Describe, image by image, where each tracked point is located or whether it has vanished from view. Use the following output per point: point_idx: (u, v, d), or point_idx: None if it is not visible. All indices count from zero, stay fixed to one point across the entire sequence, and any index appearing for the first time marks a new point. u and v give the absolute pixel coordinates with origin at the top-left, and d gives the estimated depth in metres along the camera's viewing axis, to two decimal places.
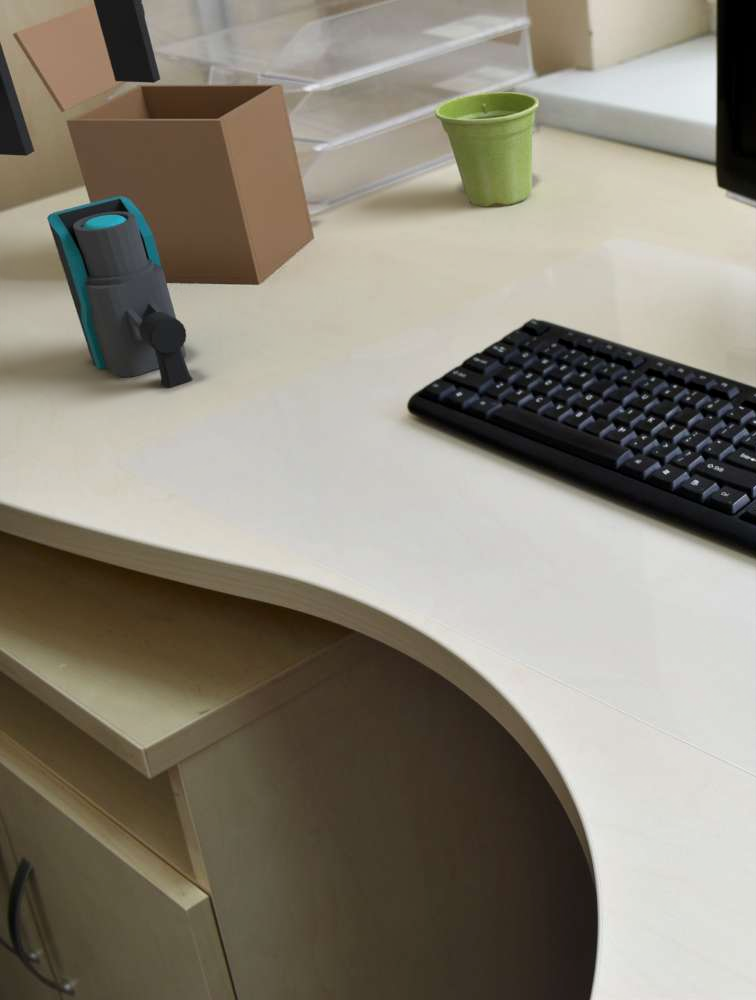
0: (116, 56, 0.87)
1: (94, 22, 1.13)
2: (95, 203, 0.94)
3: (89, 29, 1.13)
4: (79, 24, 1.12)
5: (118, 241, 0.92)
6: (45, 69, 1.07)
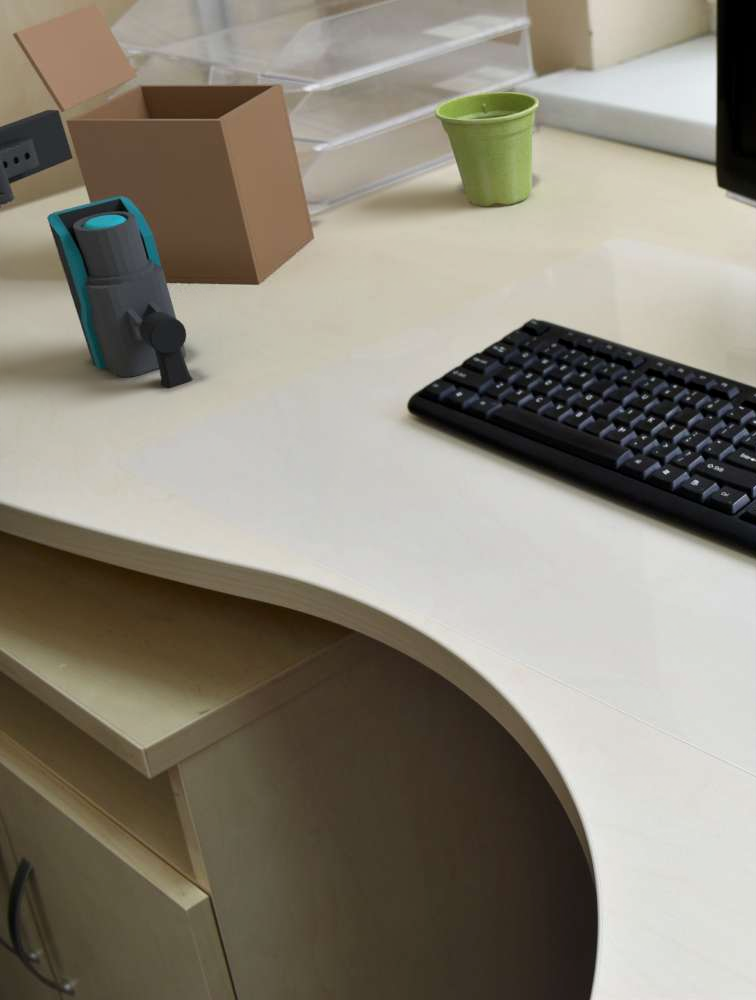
0: None
1: (94, 22, 1.13)
2: (95, 203, 0.94)
3: (89, 29, 1.13)
4: (79, 24, 1.12)
5: (118, 241, 0.92)
6: (45, 69, 1.07)
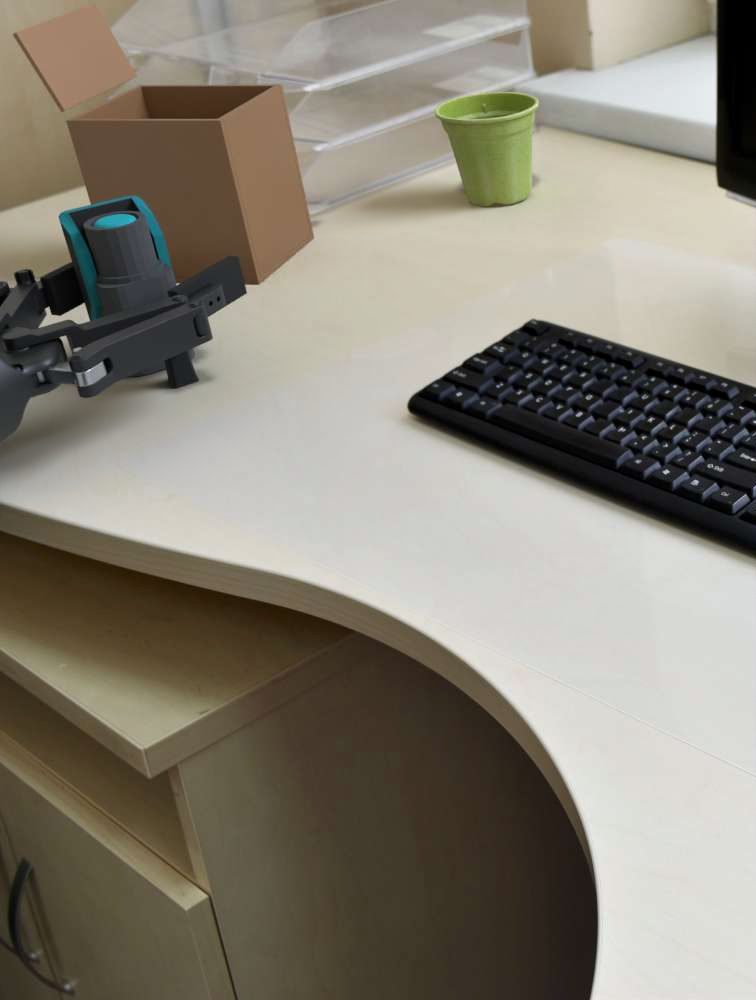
0: None
1: (94, 22, 1.13)
2: (107, 202, 0.94)
3: (89, 29, 1.13)
4: (79, 24, 1.12)
5: (127, 240, 0.92)
6: (45, 69, 1.07)
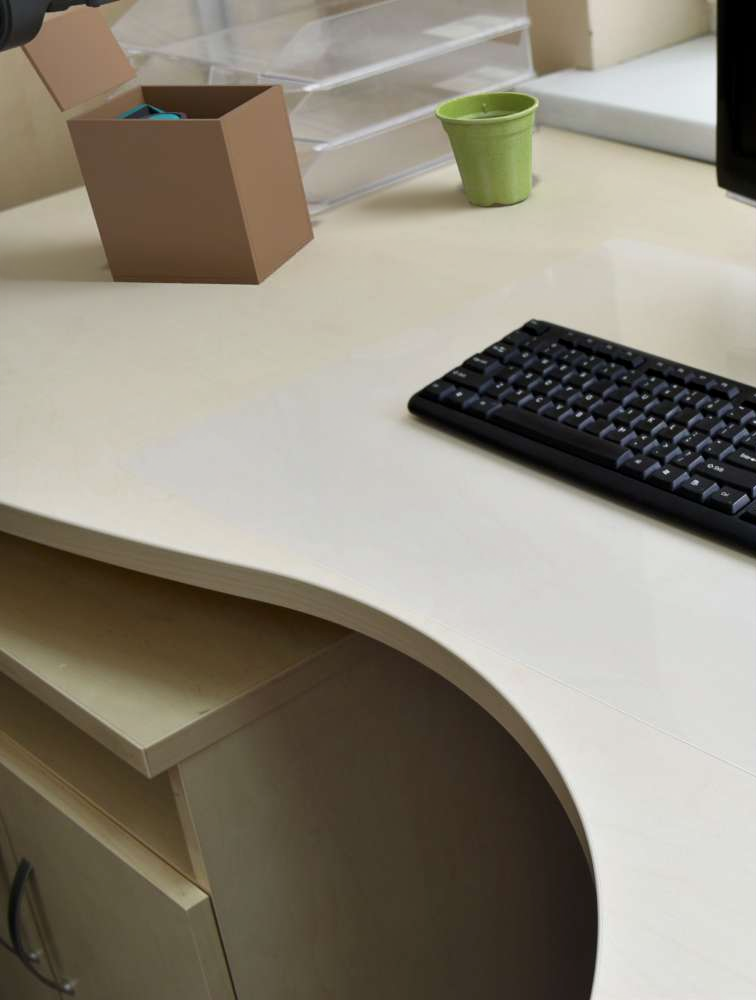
0: None
1: (94, 22, 1.13)
2: (134, 110, 1.13)
3: (89, 29, 1.13)
4: (79, 24, 1.12)
5: None
6: (45, 69, 1.07)
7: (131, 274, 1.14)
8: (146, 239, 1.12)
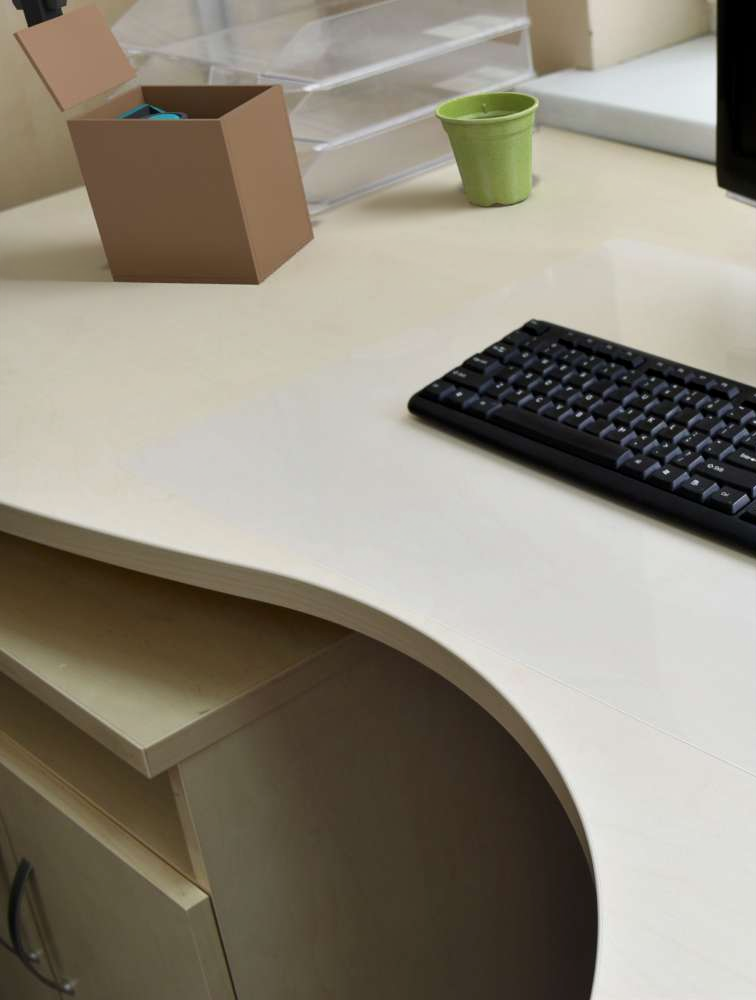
0: None
1: (94, 22, 1.13)
2: (134, 110, 1.14)
3: (89, 29, 1.13)
4: (79, 24, 1.12)
5: None
6: (45, 69, 1.07)
7: (131, 274, 1.14)
8: (146, 239, 1.12)
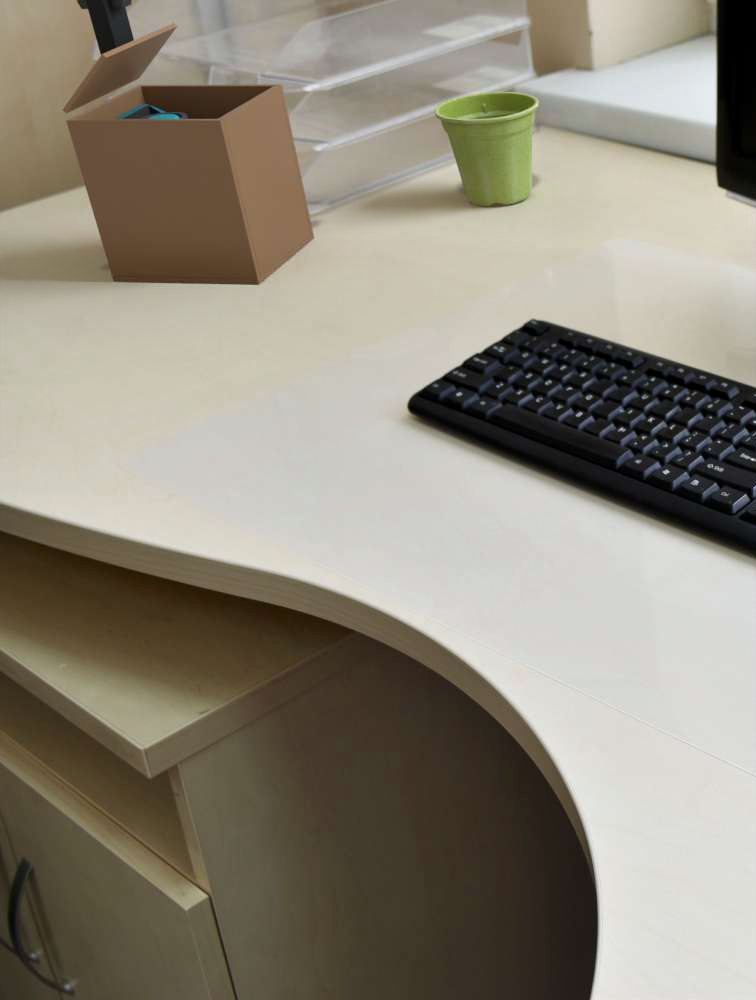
0: None
1: (160, 41, 1.13)
2: (134, 110, 1.14)
3: (151, 47, 1.13)
4: (150, 44, 1.12)
5: None
6: (91, 83, 1.07)
7: (131, 274, 1.14)
8: (146, 239, 1.12)
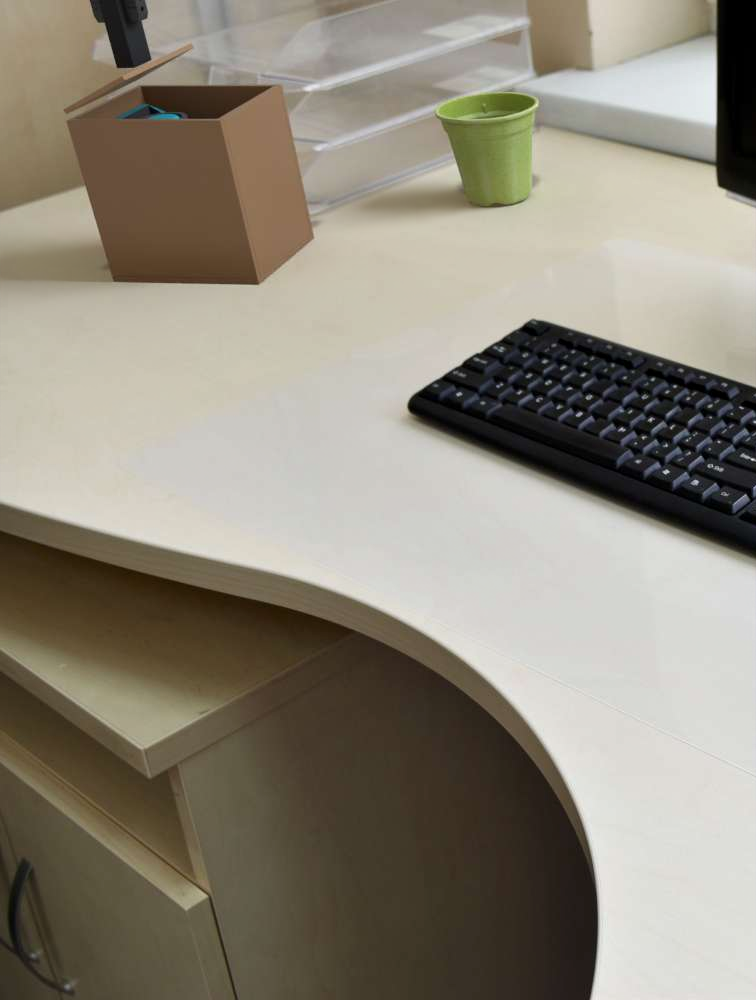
0: None
1: (174, 58, 1.14)
2: (134, 110, 1.14)
3: (164, 63, 1.13)
4: (164, 62, 1.12)
5: None
6: (100, 95, 1.07)
7: (131, 274, 1.14)
8: (146, 239, 1.12)
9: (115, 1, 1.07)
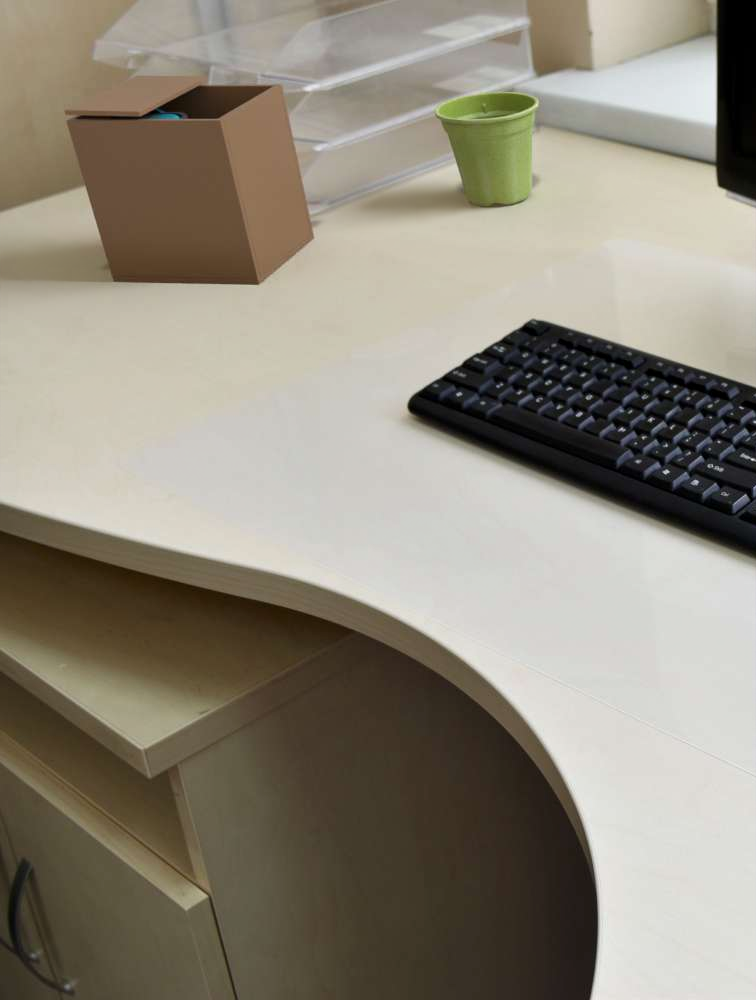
0: None
1: None
2: None
3: None
4: None
5: None
6: None
7: (131, 274, 1.14)
8: (146, 239, 1.12)
9: None
